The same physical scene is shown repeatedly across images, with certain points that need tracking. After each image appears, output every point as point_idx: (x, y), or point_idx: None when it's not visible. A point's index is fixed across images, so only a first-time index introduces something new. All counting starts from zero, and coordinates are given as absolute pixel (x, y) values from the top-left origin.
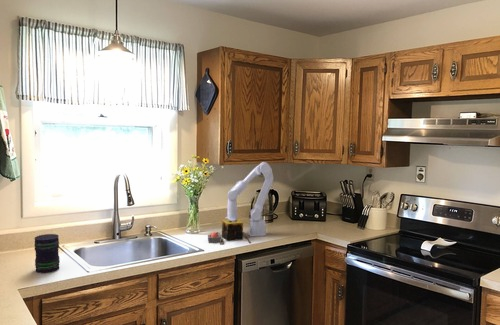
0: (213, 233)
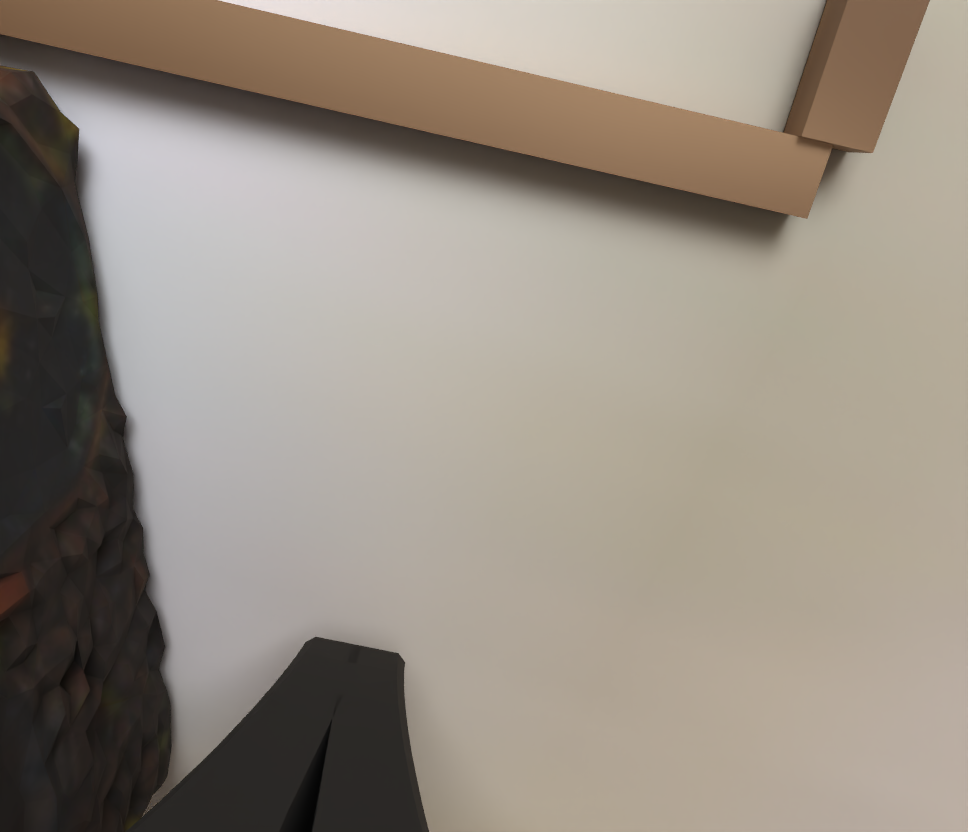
0: None
